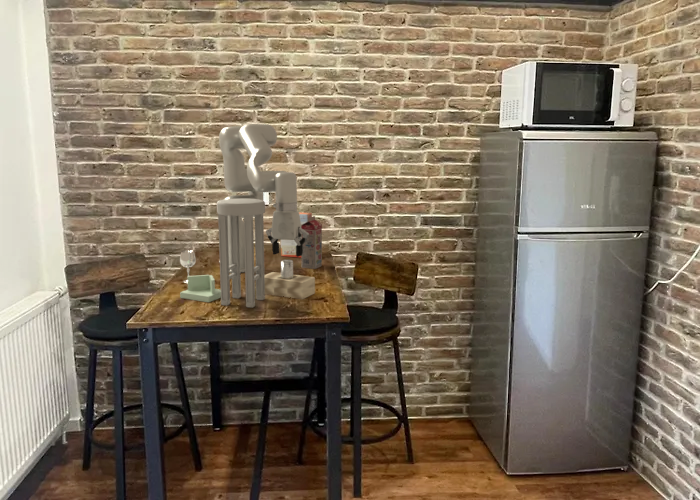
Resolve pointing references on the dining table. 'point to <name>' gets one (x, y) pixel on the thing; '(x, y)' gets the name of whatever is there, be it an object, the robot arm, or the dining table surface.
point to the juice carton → (312, 244)
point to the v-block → (201, 289)
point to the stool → (235, 210)
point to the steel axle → (287, 269)
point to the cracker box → (290, 245)
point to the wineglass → (187, 260)
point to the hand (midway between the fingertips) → (287, 254)
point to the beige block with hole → (289, 285)
